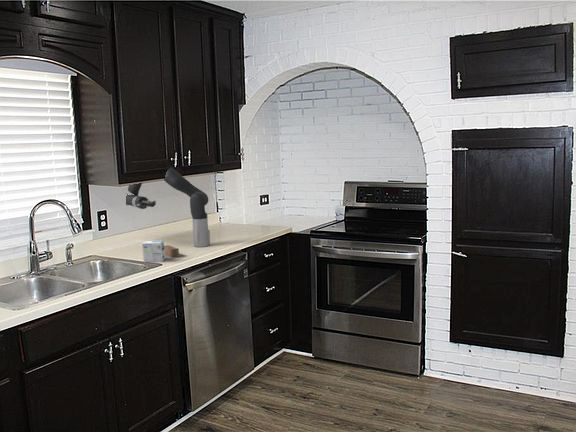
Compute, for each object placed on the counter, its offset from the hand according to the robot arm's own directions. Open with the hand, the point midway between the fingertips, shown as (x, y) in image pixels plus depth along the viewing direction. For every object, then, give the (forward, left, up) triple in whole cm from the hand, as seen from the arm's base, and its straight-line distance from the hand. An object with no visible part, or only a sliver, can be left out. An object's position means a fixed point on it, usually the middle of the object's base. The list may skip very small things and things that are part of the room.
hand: (152, 205), depth 335 cm
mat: (0, +21, -28) cm, 34 cm away
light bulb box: (+12, +25, -28) cm, 39 cm away
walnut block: (0, +13, -25) cm, 28 cm away
